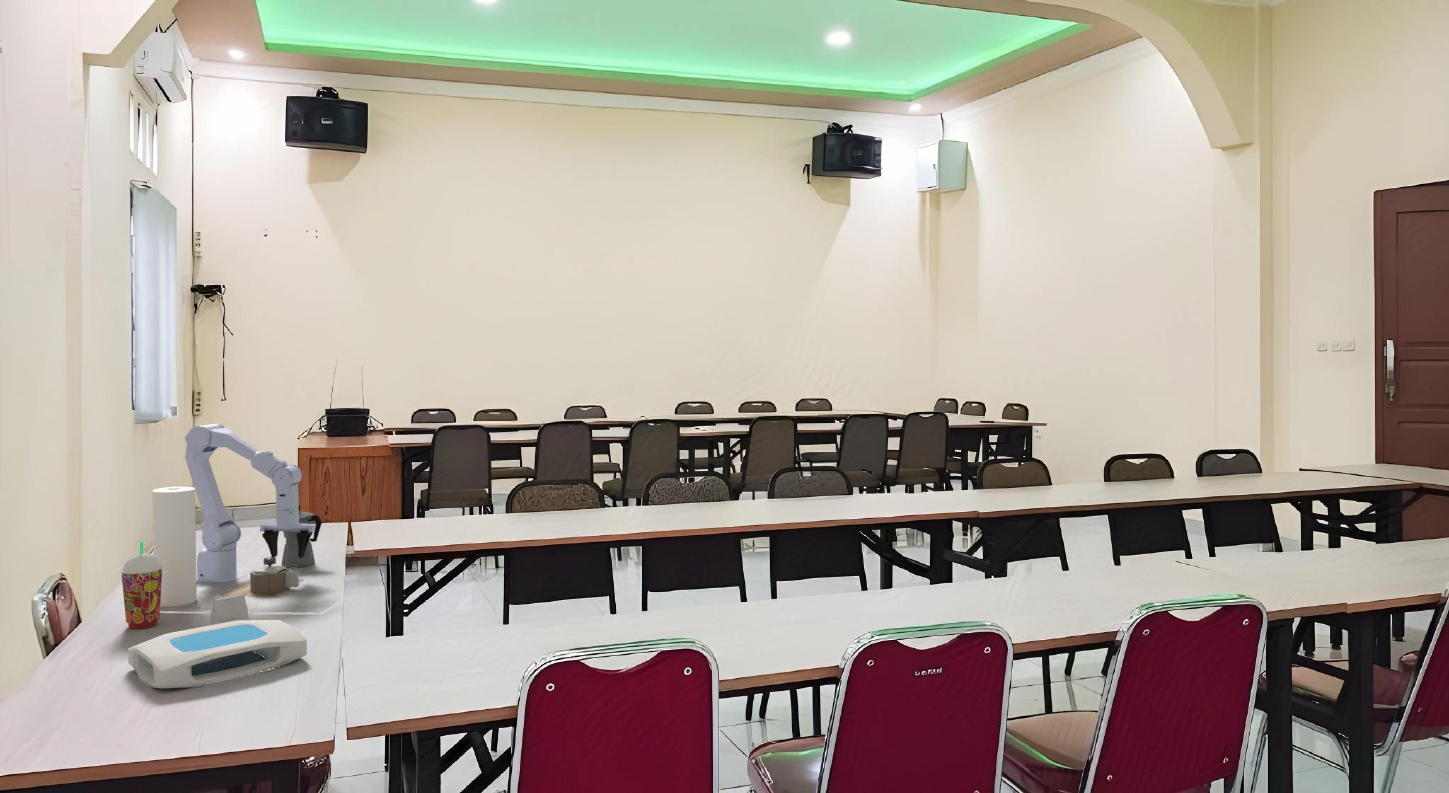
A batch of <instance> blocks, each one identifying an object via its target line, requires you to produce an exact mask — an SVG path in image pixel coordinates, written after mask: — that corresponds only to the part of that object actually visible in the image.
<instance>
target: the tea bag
mask: <svg viewBox="0 0 1449 793" xmlns="http://www.w3.org/2000/svg"><path fill="white" fill-rule="evenodd" d="M249 617H250V616H249V609H248V605H247V600H246V596H245V595H244V594H243V595H238V596H227V597H223V598H218V599H213V600H212V607H211V612H210V616H209V625H215V624H220V623H225V622H231V621H237V620H250V619H249Z"/></svg>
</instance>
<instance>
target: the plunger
mask: <svg viewBox="0 0 1449 793" xmlns="http://www.w3.org/2000/svg"><path fill="white" fill-rule="evenodd" d="M275 564H277V558H276V557H271V556H268V557H264V558H263V566H268V570H271V566H272V565H275Z"/></svg>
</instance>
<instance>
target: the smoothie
mask: <svg viewBox="0 0 1449 793" xmlns="http://www.w3.org/2000/svg"><path fill="white" fill-rule="evenodd" d="M162 568H163V566H162V565H161V564H160V562H159V560H158V559H157V558H156V557H155V556H154V554H151V553H148V552H144V542H143V541H139V553H136V554H134V555H132V556H130V557H129V558H128V559H127V560H126V561H125V563H124V564H123V568H121V569H120V572H121V582H122V593H123V604H124V612H125V613H124V614H125V615H124V616H125V623H126V624H127V625H128V627H129V628H130V629H134V630H135V629H136V630H140V629H147V628H148V627H149V628H153V627H155V626H156V625H157V624H158V620H160V619H161V618H160V617H161V606H160V601H161V582H162Z"/></svg>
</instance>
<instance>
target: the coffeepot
mask: <svg viewBox="0 0 1449 793" xmlns="http://www.w3.org/2000/svg"><path fill="white" fill-rule="evenodd" d="M322 522H323V521H322V519H321V518H320V516H319V515H318V514H314V513H312V512H306V511H301V505H299V523H304V524H314V523H315V531H313V537H312V538H310V539H309V541H308V544H307V547H306V550H305V555H304V557H302V558H299V555H298V540H297V536H296V534H297V533H300V532H299V531H282V532H283V537H284V539H285V544H284V546H283V547H284V548H283V552H282V560H281V566H285V568H290V567H296V568H304V567H309V566H308V565H310V566H312V565H314V564H315V555H314V554H315V553H314V550H313V545H312V543H314V542H315V543H316V542H317V540H318V538H319V534H320V530H321V527H322V524H323V523H322ZM313 563H314V564H313ZM311 564H312V565H311Z"/></svg>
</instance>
